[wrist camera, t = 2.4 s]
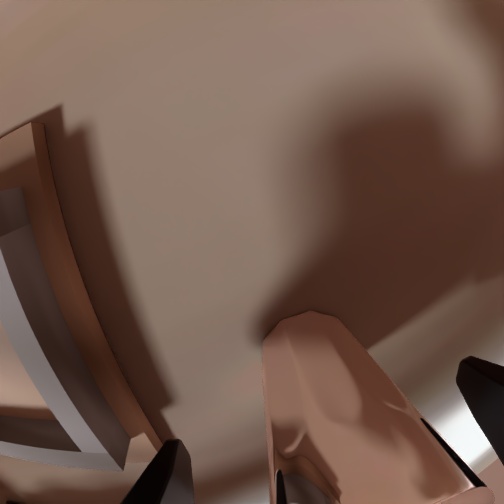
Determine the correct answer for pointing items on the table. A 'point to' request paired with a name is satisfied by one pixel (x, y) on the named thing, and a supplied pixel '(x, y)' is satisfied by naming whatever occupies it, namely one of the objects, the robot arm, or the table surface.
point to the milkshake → (350, 426)
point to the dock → (55, 333)
